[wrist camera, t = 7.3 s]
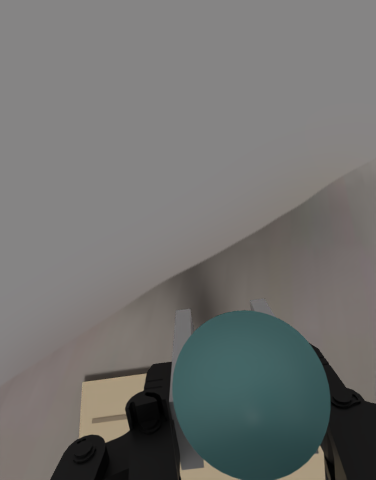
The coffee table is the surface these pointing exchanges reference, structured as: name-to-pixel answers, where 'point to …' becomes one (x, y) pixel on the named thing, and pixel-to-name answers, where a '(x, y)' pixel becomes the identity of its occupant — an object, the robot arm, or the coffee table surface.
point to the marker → (251, 395)
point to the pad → (116, 424)
